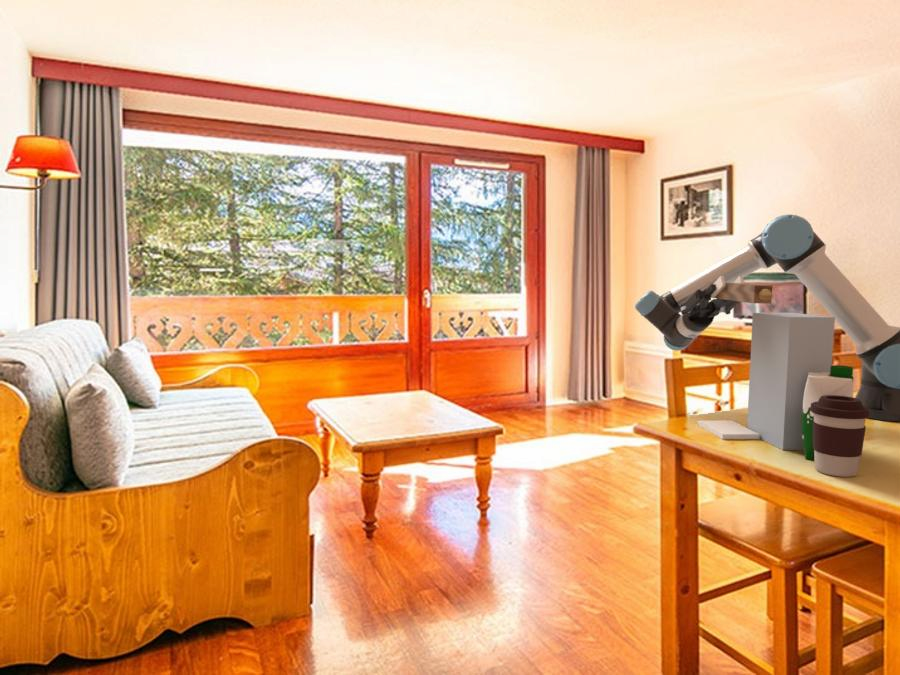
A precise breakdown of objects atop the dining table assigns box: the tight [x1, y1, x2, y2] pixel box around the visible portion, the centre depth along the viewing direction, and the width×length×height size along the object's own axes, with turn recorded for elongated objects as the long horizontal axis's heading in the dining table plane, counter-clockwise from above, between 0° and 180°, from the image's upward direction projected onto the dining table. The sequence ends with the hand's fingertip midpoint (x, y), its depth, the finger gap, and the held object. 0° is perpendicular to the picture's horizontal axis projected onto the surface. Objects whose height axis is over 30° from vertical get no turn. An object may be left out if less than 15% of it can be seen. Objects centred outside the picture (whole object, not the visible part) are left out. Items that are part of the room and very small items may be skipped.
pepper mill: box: [707, 282, 773, 305], centre depth 147 cm, size 26×4×4 cm, turn 1°
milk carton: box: [802, 364, 854, 461], centre depth 131 cm, size 9×9×20 cm
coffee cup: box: [810, 395, 870, 478], centre depth 121 cm, size 10×10×15 cm
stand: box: [746, 312, 836, 451], centre depth 144 cm, size 16×10×30 cm, turn 1°
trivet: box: [697, 419, 761, 440], centre depth 153 cm, size 14×9×1 cm, turn 1°
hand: (732, 280), depth 150 cm, fingers closed on pepper mill, 4 cm apart
